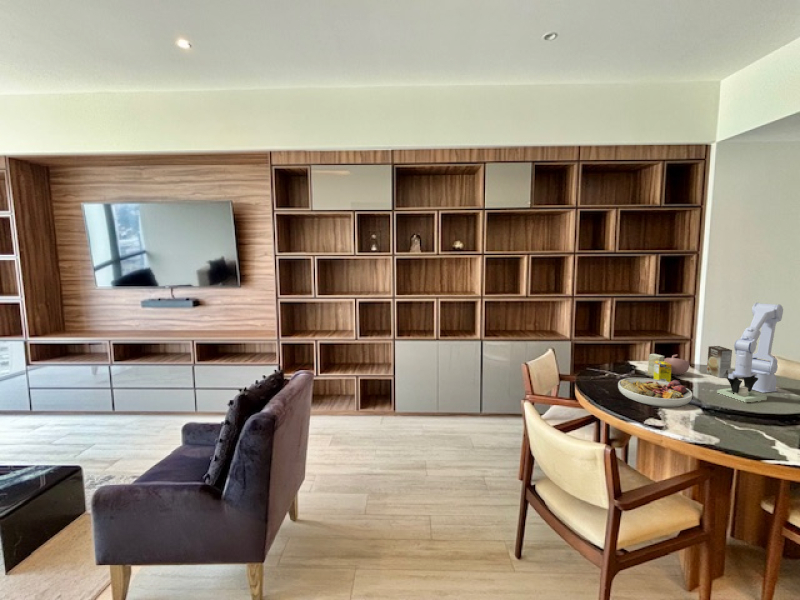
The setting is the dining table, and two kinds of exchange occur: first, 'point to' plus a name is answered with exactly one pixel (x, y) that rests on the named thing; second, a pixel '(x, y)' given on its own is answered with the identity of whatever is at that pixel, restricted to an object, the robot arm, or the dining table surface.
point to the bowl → (655, 392)
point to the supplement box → (662, 371)
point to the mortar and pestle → (677, 365)
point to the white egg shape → (743, 391)
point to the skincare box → (651, 362)
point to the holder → (751, 395)
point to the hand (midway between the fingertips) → (741, 391)
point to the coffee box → (719, 361)
